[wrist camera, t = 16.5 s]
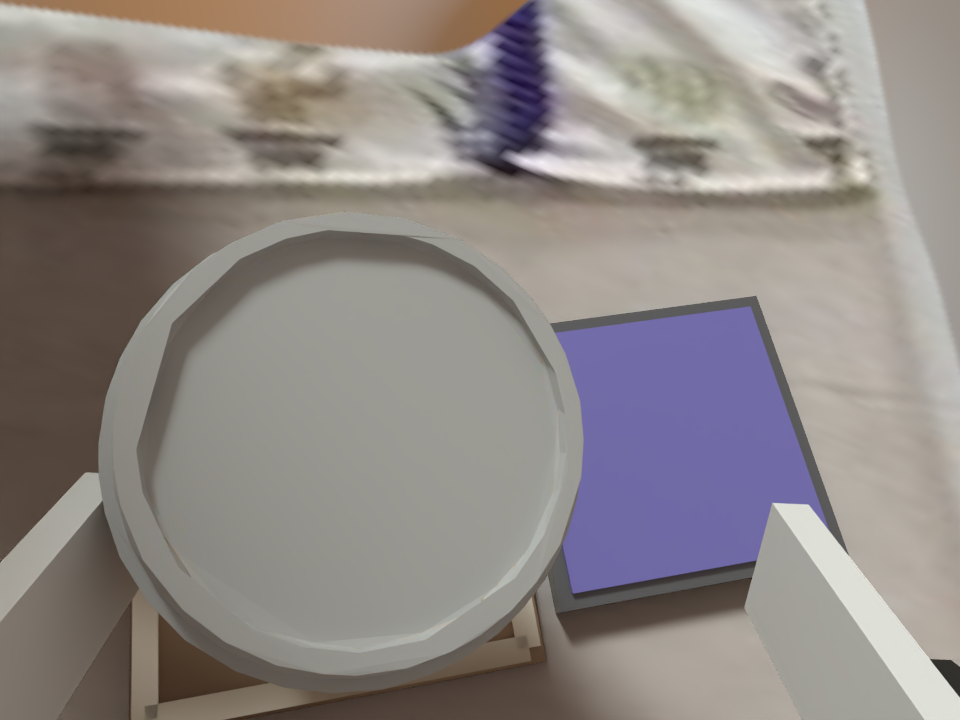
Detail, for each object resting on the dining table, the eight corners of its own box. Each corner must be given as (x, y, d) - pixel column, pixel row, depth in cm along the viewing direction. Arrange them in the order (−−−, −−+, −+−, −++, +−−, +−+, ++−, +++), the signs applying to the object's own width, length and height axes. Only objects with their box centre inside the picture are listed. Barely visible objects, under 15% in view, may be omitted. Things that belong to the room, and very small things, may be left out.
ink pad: (501, 340, 28) (504, 327, 27) (746, 307, 29) (758, 293, 28) (555, 613, 24) (561, 611, 23) (834, 562, 25) (853, 558, 24)
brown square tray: (138, 355, 27) (132, 349, 26) (478, 311, 28) (478, 304, 28) (135, 739, 22) (127, 741, 21) (544, 660, 23) (547, 661, 23)
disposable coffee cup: (315, 297, 26) (340, 102, 14) (512, 463, 26) (687, 400, 15) (112, 503, 22) (-63, 458, 11) (343, 691, 23) (403, 833, 11)
